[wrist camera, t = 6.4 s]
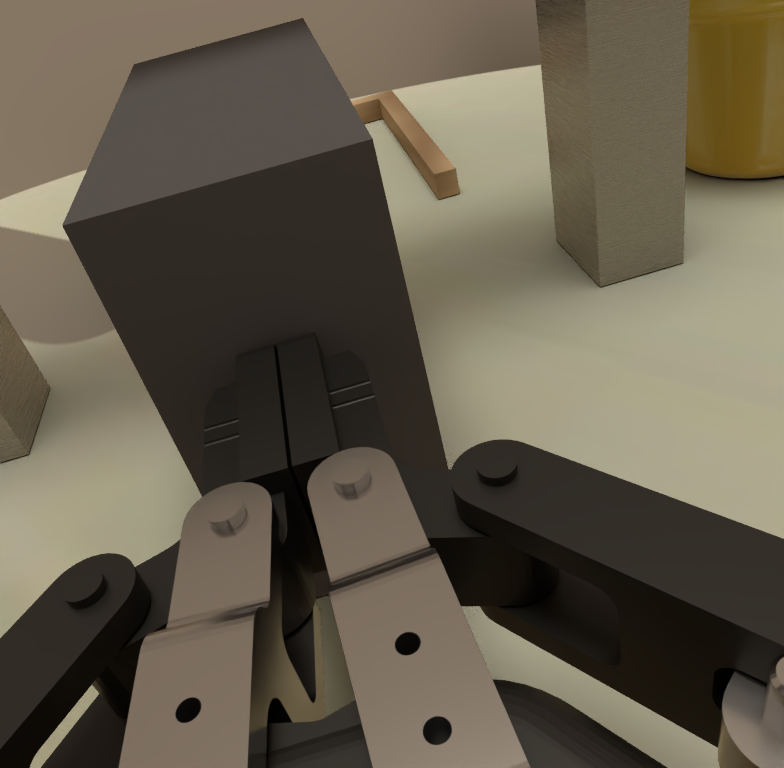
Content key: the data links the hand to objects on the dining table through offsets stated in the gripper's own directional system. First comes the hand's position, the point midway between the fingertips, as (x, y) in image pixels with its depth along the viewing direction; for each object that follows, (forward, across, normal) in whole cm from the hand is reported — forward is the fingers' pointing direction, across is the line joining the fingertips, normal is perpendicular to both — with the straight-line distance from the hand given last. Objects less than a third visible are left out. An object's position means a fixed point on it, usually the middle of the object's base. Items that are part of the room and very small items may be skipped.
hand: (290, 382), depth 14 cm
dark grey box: (+6, 0, +6) cm, 8 cm away
